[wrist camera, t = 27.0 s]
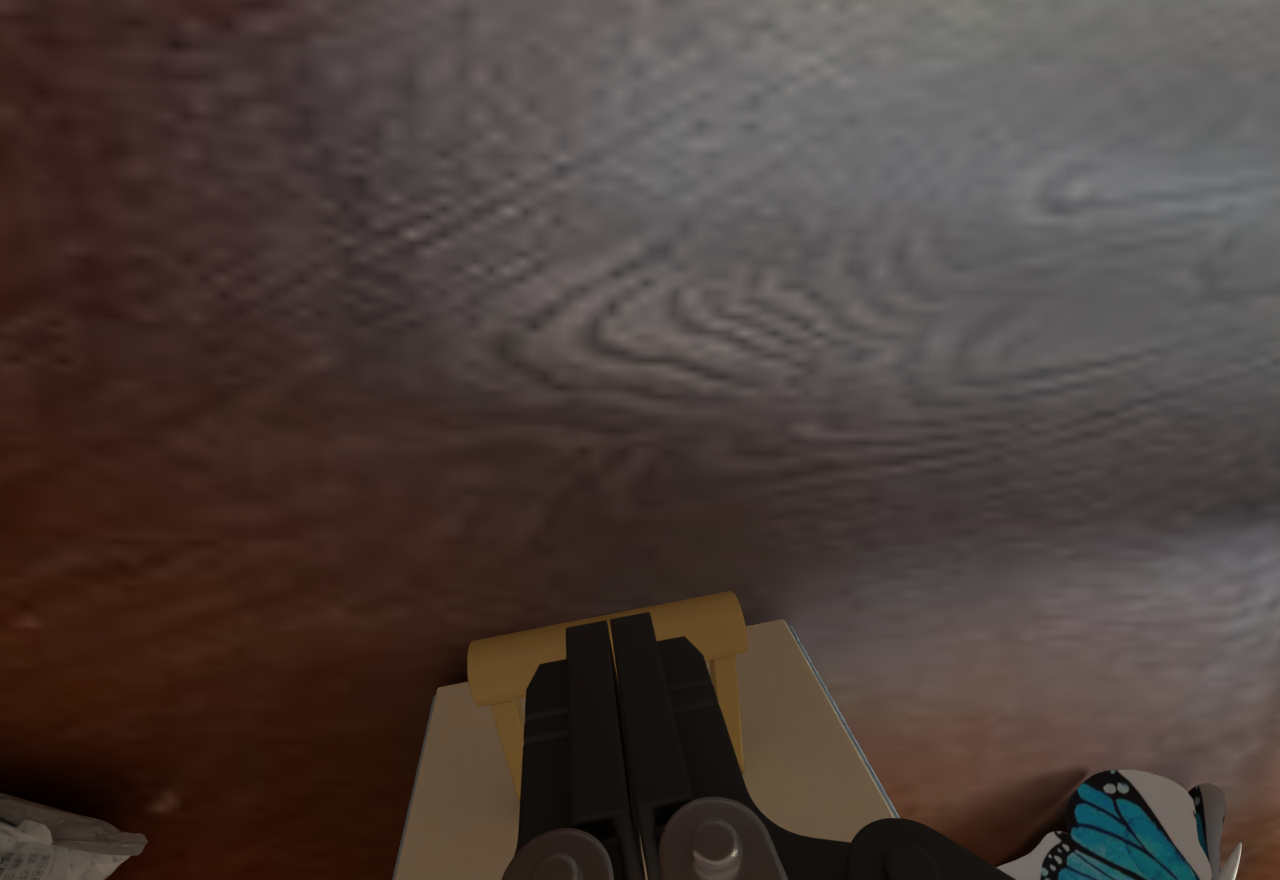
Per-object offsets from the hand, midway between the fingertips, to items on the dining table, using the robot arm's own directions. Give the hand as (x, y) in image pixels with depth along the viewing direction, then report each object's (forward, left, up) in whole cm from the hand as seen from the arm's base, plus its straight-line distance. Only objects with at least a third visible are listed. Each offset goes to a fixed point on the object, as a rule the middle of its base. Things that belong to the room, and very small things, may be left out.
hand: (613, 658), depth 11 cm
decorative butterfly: (+5, +35, -10) cm, 37 cm away
